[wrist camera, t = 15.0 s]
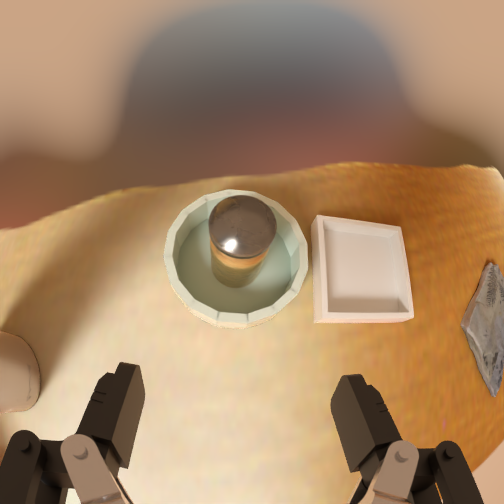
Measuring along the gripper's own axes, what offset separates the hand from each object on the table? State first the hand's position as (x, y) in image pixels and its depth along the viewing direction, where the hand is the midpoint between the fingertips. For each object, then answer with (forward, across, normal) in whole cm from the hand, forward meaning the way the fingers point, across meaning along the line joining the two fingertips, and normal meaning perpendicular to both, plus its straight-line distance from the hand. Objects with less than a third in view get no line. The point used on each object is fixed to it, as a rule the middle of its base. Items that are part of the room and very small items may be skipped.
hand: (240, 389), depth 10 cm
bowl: (+19, 0, +4) cm, 20 cm away
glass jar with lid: (+19, 0, +3) cm, 19 cm away
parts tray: (+19, -14, +4) cm, 24 cm away
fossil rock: (+15, -40, +9) cm, 44 cm away
